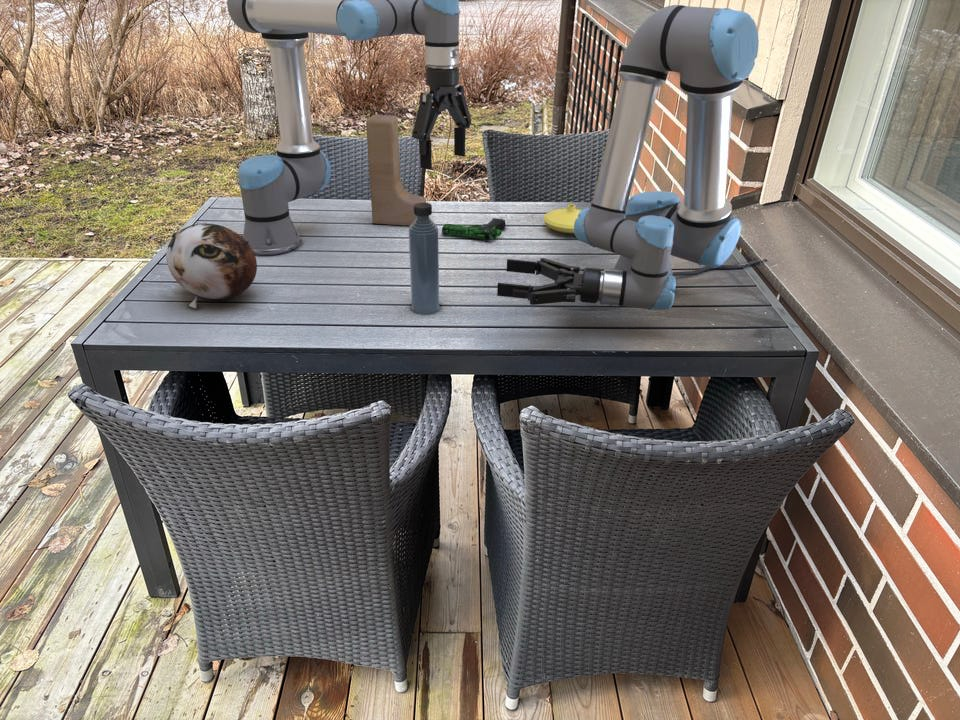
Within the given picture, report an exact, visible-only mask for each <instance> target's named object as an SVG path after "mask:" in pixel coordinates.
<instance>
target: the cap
mask: <svg viewBox="0 0 960 720" xmlns="http://www.w3.org/2000/svg"><path fill="white" fill-rule="evenodd" d="M414 214H415V215H416V216H429V217H430V216H432V214H433V207H432V204H431V203H429V202H426V203H416V204H415V205H414Z"/></svg>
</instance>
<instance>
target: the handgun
mask: <svg viewBox="0 0 960 720" xmlns="http://www.w3.org/2000/svg"><path fill="white" fill-rule="evenodd" d="M505 228H506V220H505V219H503V218H497V217H492V219H491V220H490V221H489V222H488V223H483V224H482V225H479V224H472V225H459V224H453V223H445V224H443V226H442V227H441V235H446V236H454V237H462V238H469V239H470V238H471V239H474V240H479V241H484V242H491V241H492V240H494V239H495V238H497V237H500V236H502V230H504V229H505Z"/></svg>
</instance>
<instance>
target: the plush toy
mask: <svg viewBox="0 0 960 720" xmlns="http://www.w3.org/2000/svg"><path fill="white" fill-rule="evenodd" d="M177 232H178V233H177V234H176V235H174V237H171V239H170V241H169V243H168V245H167V248H166V254H165V260H166V265H167V268H168V271H169V273H170V275H171V276H172V277H173V279H174V280H175V281H176V282H177V284H178V285H180V286H181V287H182V288H183V289H185V290H186V291H187V292H189V293H191V294H194V295H195V298H194V299H193V300H192V302H190V303H189V304H188V306H189V307H191V308H192V309H197V308H198V307H197V298H198V297H201V298H205V299H210V300H226V299H230V298H233V297H236V296H238V295H241V294H242V293H244V292H245V291H247V290H248V289H249V288H250V286H251V285H252V284H253V282H254V280H255V278H256V275H257V271H258V262H257V257H256V254H254V252H253V250H252V248H251V247H250V245H249V244H248V242H249V241H246V240H245V239H244V238H243V237H241V236H242V235H240V234H239V233H238V232H236V231H234V230H233V229H231V228H229V227H226V226H223V225H220V224H215V223H205V222H204V223H195V224H191V225H188V226H186V227H183V228H182V229H180V230H179V231H177Z"/></svg>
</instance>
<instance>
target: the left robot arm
mask: <svg viewBox="0 0 960 720" xmlns="http://www.w3.org/2000/svg"><path fill="white" fill-rule="evenodd" d="M226 7H227V12H228V15H229V17H230V19H231V21H232V22H233V23H234V25H236V26H237V28H239V29H240V30H242V31H244V32H246V33H250V34H260V35H261V40H262V41H264V42H265V43H266V44H267V46H268V48H269V57H270V63H271V72H272V81H273V88H274V96H275V103H276V111H277V119H278V128H279V135H280V142H279V143H278V145H277V146H276V148H275V149H276V150H275V151H276V154H262V155H254V156H253V157H250V158H247V159H245V160H244V161H242V162H241V163H240V164H239V166H238V168H237V174H238V185H239V190H240V194H241V195H240V196H241V201H242V208H243V212H244V213H243V215H244V219H245V220H244V226H243V228H244V229H243V235H240V236H241V237H243V238H244V239H245V240H246V241H249V242H248V244H249V245H250V247H251V248H252V250H253V252H254V254H255V256H256V255H257V256H275V255H281V254H282V255H283V254H285V253H289V252H291V251H293V250H296V249H297V248H298V247H299V246H300V244H301V241H300V235H299V233H298V231H297V229H296V227H295V225H294V223H293V220H292V218H291V216H290V207H289V203H291V202H293V201H296V200H299V199H302V198H305V197H309V196H312V195H315V194H317V193H318V192H321V191H322V190H324V189H325V188H326V187H328V185H329V183H330V180H331V175H332V168H331V163H330V160H329V158H327V155H326V153H325V152H324V151H323V150H321V146H320V144H319V143H318V142H316V141H315V140H314V134H313V133H314V132H313V123H312V115H311V114H312V113H311V104H310V94H309V93H310V92H309V84H308V75H307V65H306V55H305V44H306V43H307V41H308V40H309V39H310V36H309V34H310V33H311V34H319V35H320V34H321V35H328V36H329V35H330V36H339V37H345V38H346V39H347V40H350V41H359V42H360V41H361V42H362V41H363V42H364V41H368V40H373V39H378V38H385V37H392V36H400V35H418V36H424V64H425V65H426V67H425V72H424V73H425V84H426V85H427V86H428V87H429V92H420V94H419V104H418V109H417V112H416V117H415V121H414V125H413V130H412V132H411V138H412V139H415V140H417V141H418V153H419V159H420V160H419V163H420V165H419V168H420V169H425V170H432V169H433V163H432V162H433V161H432V160H433V157H432V139H430V136H431V135H432V133H433V129H434V128H435V127H434V126H435V125H436V122H437V120H438V117H439V115H441V114H442V112H444V111H446V110H447V112H448V113H449V115H450V117H451V119H452V120H453V123H454V124H455V126H456V127H453V130H454V131H453V155H454V156H456V157H463V158H464V157H466V136H467V135H466V133H467V132H466V130H467V129H470V127H471V124H472V117H471V114H470V110H469V107H468V102H467V99H466V96H465V87H464V85H462V84H460V68H459V67H458V65H459V64H460V41H459V40H460V39H459V38H460V34H459V33H460V31H459V30H460V13H461V10H460V3H459V0H226ZM178 232H179V231H176V232H174V233H173V234H172V235H171V236H170V237H171V238H173V237H174V235H176V234H177V233H178Z"/></svg>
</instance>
